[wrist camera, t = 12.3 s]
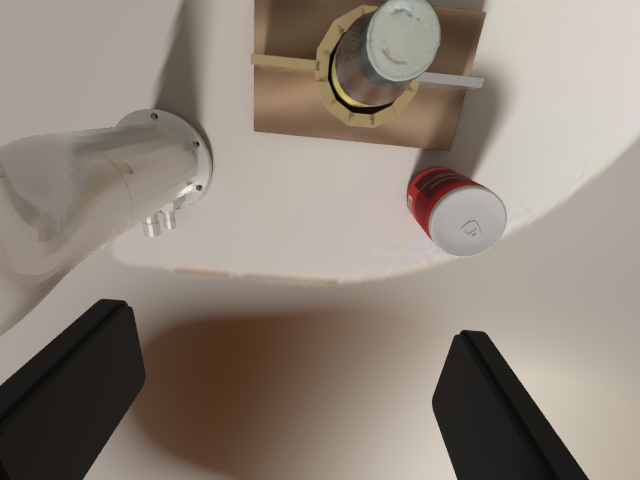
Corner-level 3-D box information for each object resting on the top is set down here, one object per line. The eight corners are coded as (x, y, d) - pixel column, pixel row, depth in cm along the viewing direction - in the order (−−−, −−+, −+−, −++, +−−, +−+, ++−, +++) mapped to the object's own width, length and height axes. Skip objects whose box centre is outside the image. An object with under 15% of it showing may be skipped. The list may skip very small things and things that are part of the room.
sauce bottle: (348, 118, 36) (372, 132, 18) (319, 67, 34) (312, 25, 16) (397, 84, 34) (478, 62, 16) (369, 29, 32) (427, -68, 14)
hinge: (446, 132, 36) (467, 137, 31) (262, 113, 36) (251, 115, 30) (470, 34, 32) (500, 20, 27) (264, 11, 32) (251, -8, 26)
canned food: (436, 231, 43) (469, 270, 33) (392, 201, 41) (414, 232, 31) (475, 188, 41) (525, 216, 30) (431, 153, 39) (467, 171, 29)
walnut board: (445, 149, 38) (449, 150, 37) (256, 130, 38) (253, 131, 37) (479, 16, 33) (486, 12, 31) (257, -9, 32) (254, -14, 31)
